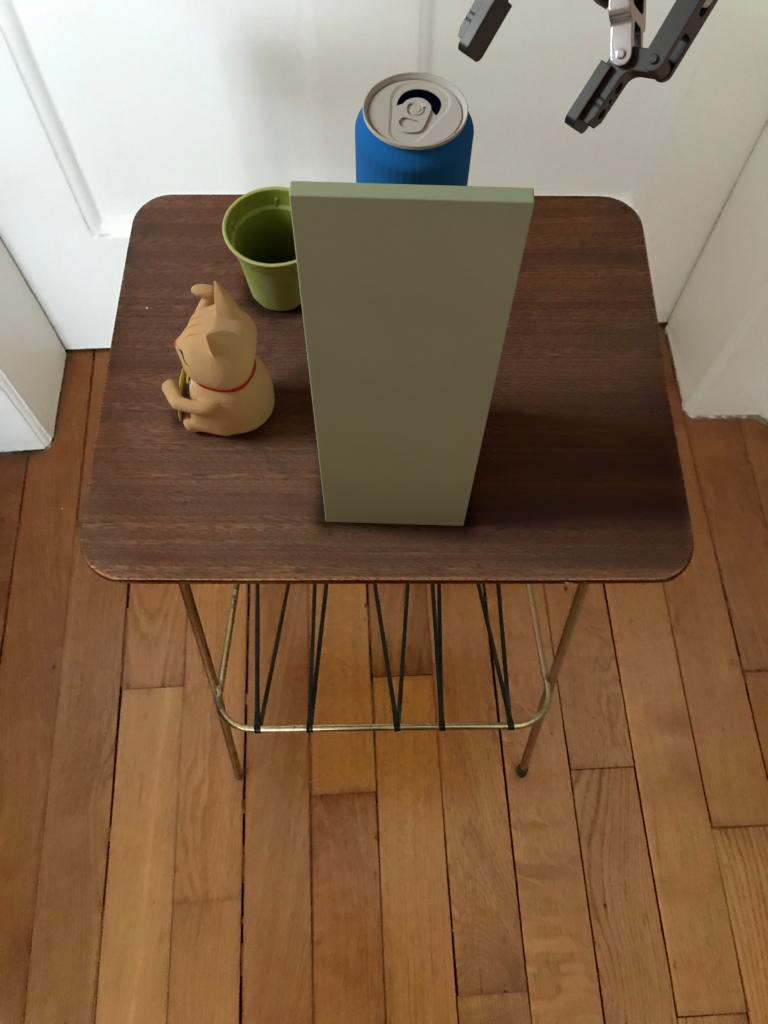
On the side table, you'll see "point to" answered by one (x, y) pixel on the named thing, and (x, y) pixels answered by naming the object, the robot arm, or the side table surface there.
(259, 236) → the plant pot
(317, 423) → the shelf
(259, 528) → the side table surface
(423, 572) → the side table surface
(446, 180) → the beverage can
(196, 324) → the figurine
